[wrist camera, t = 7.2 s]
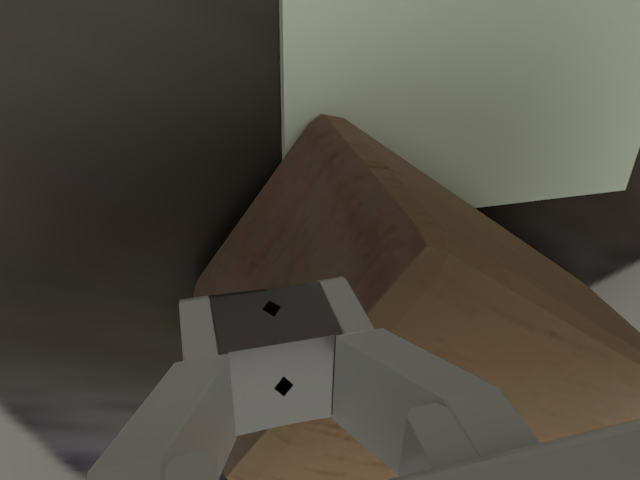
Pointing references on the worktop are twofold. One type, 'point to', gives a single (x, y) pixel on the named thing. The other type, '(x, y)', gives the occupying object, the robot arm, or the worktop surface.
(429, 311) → the wooden block
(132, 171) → the worktop surface
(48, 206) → the worktop surface
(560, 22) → the mat
